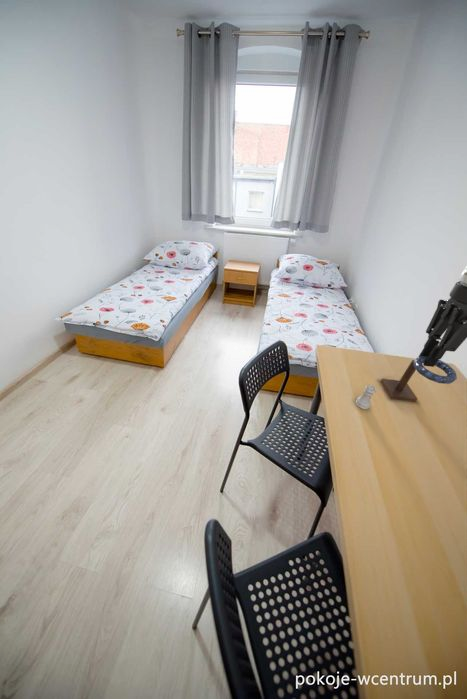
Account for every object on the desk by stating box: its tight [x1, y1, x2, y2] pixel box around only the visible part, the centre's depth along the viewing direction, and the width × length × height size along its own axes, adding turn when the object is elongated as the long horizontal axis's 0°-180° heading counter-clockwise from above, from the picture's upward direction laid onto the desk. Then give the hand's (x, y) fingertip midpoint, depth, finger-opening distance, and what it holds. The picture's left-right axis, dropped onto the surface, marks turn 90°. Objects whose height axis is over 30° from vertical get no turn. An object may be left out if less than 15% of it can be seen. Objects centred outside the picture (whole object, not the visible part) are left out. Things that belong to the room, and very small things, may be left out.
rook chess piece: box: [355, 384, 377, 410], centre depth 90 cm, size 4×4×8 cm
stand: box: [380, 359, 418, 403], centre depth 96 cm, size 9×9×14 cm
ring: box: [413, 356, 458, 385], centre depth 76 cm, size 10×10×2 cm
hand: (425, 362), depth 80 cm, fingers closed on ring, 2 cm apart
